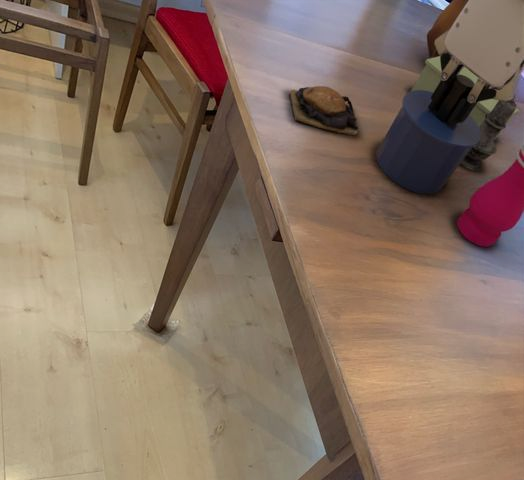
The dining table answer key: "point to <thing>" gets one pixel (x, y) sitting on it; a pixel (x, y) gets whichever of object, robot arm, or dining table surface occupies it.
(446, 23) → the butternut squash
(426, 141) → the pot
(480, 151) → the grey knobbly column
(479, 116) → the pale green block
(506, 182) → the pepper mill
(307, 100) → the pastry on board
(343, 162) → the dining table surface
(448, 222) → the dining table surface
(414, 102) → the lid
